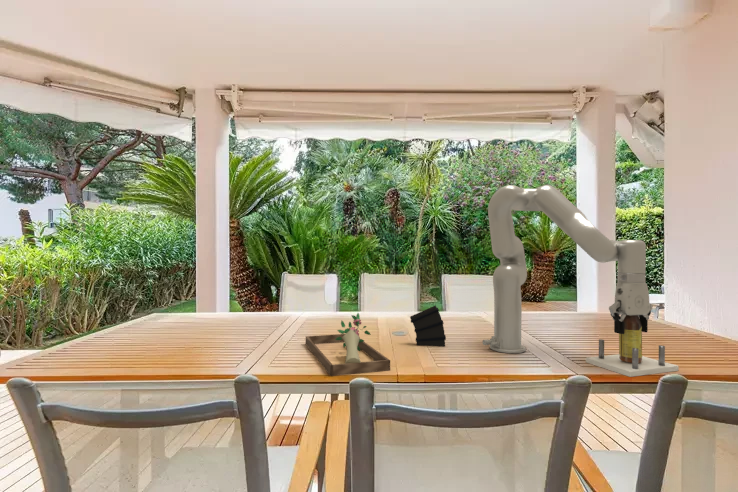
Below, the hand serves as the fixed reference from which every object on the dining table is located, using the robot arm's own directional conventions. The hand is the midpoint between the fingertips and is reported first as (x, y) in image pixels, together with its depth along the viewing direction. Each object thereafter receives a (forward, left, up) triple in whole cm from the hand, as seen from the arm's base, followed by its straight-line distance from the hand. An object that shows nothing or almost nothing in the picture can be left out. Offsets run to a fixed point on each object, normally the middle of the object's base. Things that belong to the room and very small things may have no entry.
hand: (630, 332), depth 133 cm
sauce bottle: (0, 0, -9) cm, 9 cm away
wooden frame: (-84, +39, -11) cm, 93 cm away
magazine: (-49, +45, -11) cm, 67 cm away
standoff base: (0, 0, -11) cm, 11 cm away
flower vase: (-81, +36, -11) cm, 90 cm away
